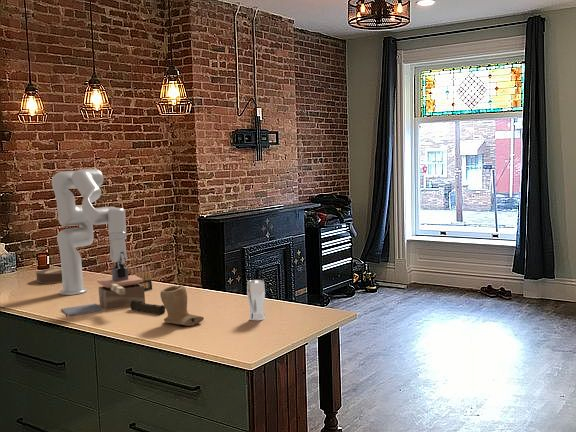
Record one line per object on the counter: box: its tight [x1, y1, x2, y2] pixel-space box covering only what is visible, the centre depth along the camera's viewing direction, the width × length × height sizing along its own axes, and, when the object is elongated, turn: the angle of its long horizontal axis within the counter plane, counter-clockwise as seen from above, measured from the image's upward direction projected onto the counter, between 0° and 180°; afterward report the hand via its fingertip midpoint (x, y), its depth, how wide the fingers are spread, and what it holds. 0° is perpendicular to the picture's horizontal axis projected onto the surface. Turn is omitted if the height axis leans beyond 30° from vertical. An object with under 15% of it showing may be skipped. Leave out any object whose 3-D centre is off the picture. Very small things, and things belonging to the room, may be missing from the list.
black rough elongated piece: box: [129, 300, 166, 316], centre depth 267 cm, size 19×4×5 cm, turn 54°
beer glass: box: [246, 279, 266, 322], centre depth 248 cm, size 7×7×15 cm
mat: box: [60, 303, 105, 317], centre depth 274 cm, size 14×15×1 cm
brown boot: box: [160, 284, 205, 327], centre depth 245 cm, size 15×12×15 cm
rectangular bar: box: [110, 283, 125, 295], centre depth 264 cm, size 14×2×2 cm, turn 32°
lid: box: [97, 266, 143, 288], centre depth 282 cm, size 12×17×7 cm
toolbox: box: [98, 283, 146, 311], centre depth 283 cm, size 12×17×8 cm
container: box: [35, 267, 63, 285], centre depth 346 cm, size 20×20×6 cm
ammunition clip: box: [130, 265, 153, 292], centre depth 309 cm, size 11×2×12 cm, turn 130°
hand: (120, 276), depth 282 cm, fingers closed on lid, 4 cm apart
